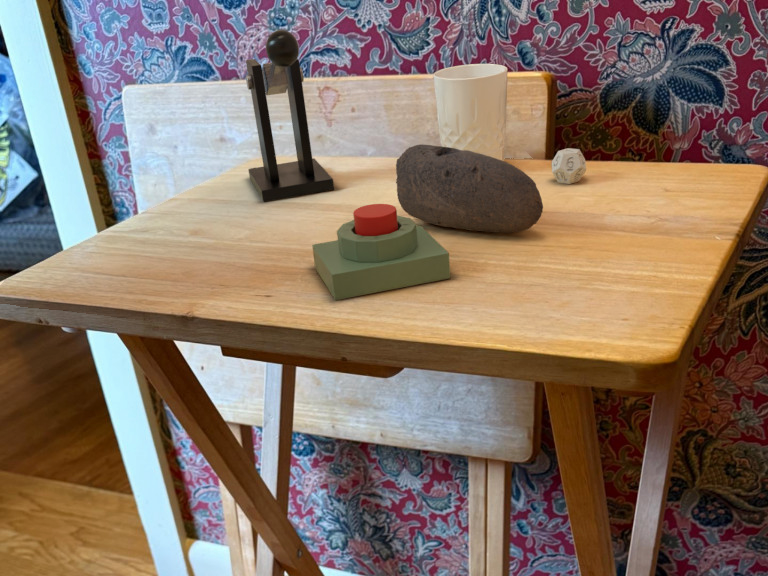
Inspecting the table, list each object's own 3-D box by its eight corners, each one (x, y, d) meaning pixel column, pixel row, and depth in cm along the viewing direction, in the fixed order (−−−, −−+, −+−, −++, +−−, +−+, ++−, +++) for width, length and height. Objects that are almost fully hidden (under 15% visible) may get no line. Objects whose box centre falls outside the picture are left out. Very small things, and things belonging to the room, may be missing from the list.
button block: (335, 300, 73) (328, 252, 71) (315, 269, 79) (308, 223, 77) (450, 278, 75) (448, 231, 72) (422, 249, 81) (419, 204, 79)
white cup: (518, 160, 102) (517, 63, 96) (494, 180, 96) (492, 78, 90) (454, 158, 105) (450, 64, 99) (427, 177, 99) (421, 79, 93)
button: (361, 241, 73) (359, 220, 72) (351, 228, 76) (348, 208, 75) (403, 233, 74) (401, 212, 73) (391, 221, 77) (389, 201, 76)
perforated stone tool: (556, 230, 82) (557, 151, 78) (525, 249, 79) (525, 167, 75) (426, 210, 90) (422, 137, 86) (394, 226, 87) (387, 151, 83)
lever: (303, 58, 86) (296, 22, 85) (271, 62, 85) (263, 26, 84) (291, 96, 97) (284, 64, 96) (262, 100, 96) (255, 68, 96)
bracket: (334, 189, 98) (318, 61, 91) (263, 202, 97) (241, 72, 89) (315, 168, 106) (299, 48, 99) (250, 179, 105) (228, 58, 97)
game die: (567, 188, 92) (568, 157, 90) (543, 181, 95) (544, 151, 93) (593, 180, 93) (594, 150, 92) (569, 173, 96) (569, 144, 94)
